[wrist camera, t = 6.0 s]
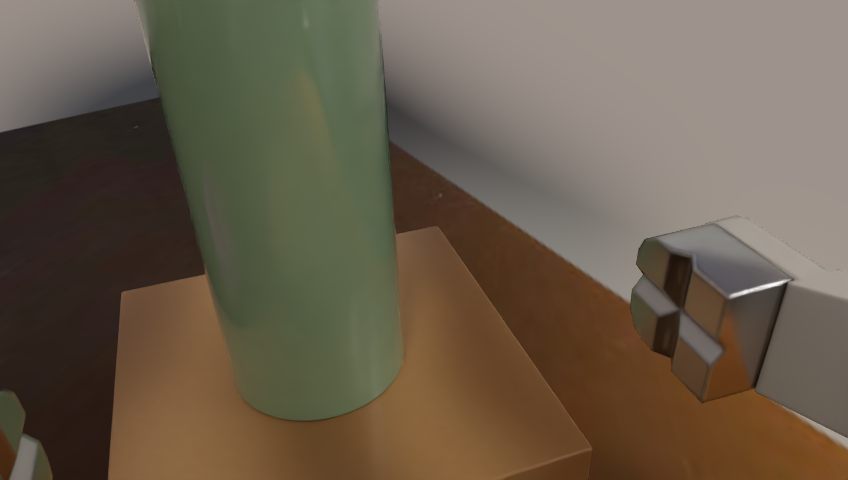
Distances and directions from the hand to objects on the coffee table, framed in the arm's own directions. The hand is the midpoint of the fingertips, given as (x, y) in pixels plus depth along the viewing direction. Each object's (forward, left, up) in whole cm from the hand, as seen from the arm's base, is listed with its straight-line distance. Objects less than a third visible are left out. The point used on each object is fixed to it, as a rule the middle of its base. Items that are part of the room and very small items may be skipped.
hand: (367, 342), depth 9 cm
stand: (0, -8, -13) cm, 15 cm away
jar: (0, -8, -7) cm, 11 cm away
